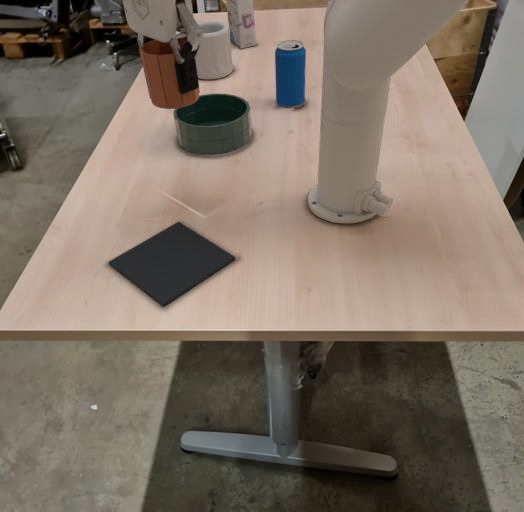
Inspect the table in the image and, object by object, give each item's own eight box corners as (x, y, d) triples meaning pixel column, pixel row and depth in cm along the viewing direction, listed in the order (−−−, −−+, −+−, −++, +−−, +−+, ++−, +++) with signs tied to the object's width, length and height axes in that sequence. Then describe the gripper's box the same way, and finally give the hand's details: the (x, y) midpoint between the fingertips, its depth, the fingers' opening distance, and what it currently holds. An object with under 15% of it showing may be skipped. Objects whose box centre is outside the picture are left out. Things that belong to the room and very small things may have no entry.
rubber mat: (235, 259, 74) (235, 256, 74) (163, 307, 68) (162, 304, 68) (179, 224, 81) (178, 221, 81) (109, 264, 75) (108, 261, 75)
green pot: (266, 136, 100) (265, 106, 95) (211, 165, 93) (207, 135, 88) (218, 115, 107) (214, 87, 102) (164, 141, 100) (158, 112, 96)
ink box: (228, 40, 138) (224, -10, 129) (244, 36, 139) (241, -13, 130) (240, 49, 133) (236, -3, 124) (256, 45, 134) (254, -6, 125)
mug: (239, 75, 121) (235, 29, 114) (198, 83, 119) (192, 37, 111) (222, 57, 130) (217, 14, 122) (183, 65, 127) (176, 21, 120)
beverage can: (302, 111, 106) (303, 50, 97) (273, 109, 107) (272, 49, 98) (306, 98, 110) (307, 39, 101) (279, 97, 112) (277, 38, 102)
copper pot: (209, 96, 72) (203, 44, 67) (169, 114, 69) (158, 60, 63) (181, 84, 75) (172, 33, 70) (141, 100, 72) (129, 48, 67)
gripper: (80, -77, 60) (119, 76, 73) (160, -62, 51) (188, 108, 65) (130, -88, 63) (159, 61, 76) (214, -75, 54) (230, 90, 68)
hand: (172, 82), depth 70 cm, fingers closed on copper pot, 7 cm apart
